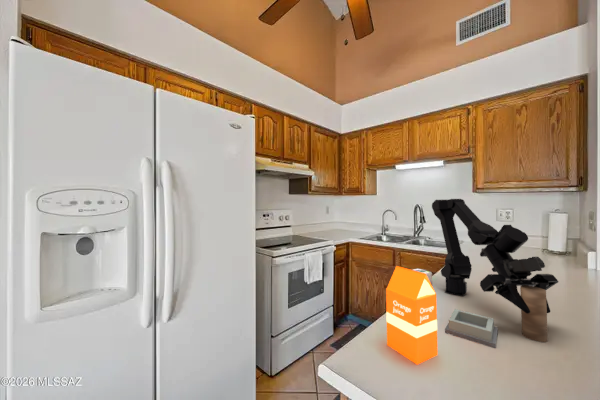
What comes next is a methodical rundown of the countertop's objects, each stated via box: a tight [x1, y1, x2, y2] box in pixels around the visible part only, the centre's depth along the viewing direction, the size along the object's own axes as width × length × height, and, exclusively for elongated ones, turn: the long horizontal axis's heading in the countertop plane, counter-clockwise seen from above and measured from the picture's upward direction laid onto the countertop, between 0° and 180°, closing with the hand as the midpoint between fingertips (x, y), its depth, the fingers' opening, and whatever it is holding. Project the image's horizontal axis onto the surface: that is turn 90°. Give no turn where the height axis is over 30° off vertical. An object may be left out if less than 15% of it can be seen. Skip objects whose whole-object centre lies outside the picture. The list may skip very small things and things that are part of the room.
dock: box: [444, 308, 499, 349], centre depth 67 cm, size 11×11×4 cm
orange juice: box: [385, 265, 439, 366], centre depth 59 cm, size 8×9×20 cm
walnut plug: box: [519, 286, 549, 343], centre depth 64 cm, size 5×5×13 cm
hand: (538, 312), depth 63 cm, fingers closed on walnut plug, 5 cm apart
